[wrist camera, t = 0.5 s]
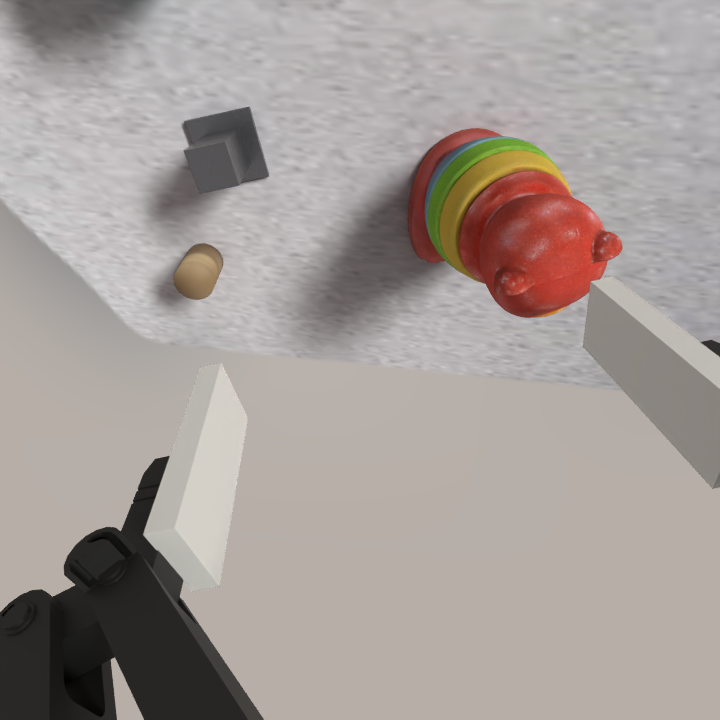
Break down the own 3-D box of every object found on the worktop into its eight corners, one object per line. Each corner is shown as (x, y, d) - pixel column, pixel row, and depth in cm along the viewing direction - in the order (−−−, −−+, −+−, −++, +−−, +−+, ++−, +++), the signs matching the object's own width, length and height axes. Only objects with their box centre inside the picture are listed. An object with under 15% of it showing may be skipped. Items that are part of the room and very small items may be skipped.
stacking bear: (416, 265, 40) (476, 384, 26) (390, 149, 35) (448, 218, 20) (533, 230, 40) (664, 332, 25) (526, 105, 34) (690, 143, 19)
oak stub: (181, 247, 38) (167, 268, 34) (215, 240, 37) (205, 260, 34) (195, 279, 39) (183, 302, 36) (228, 272, 39) (219, 295, 35)
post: (185, 120, 32) (158, 134, 27) (249, 106, 32) (236, 117, 26) (210, 188, 35) (190, 214, 29) (269, 175, 35) (260, 198, 29)
